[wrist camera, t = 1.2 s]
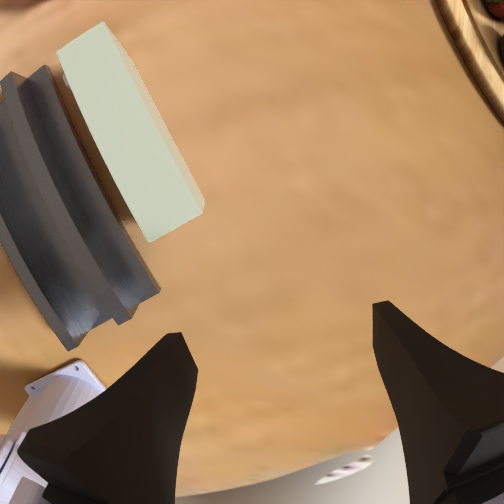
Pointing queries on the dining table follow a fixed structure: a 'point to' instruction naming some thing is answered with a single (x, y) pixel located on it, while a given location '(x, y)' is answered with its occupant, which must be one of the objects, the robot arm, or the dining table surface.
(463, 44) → the wooden plate with food
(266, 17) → the dining table surface
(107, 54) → the sage green block
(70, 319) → the rail
